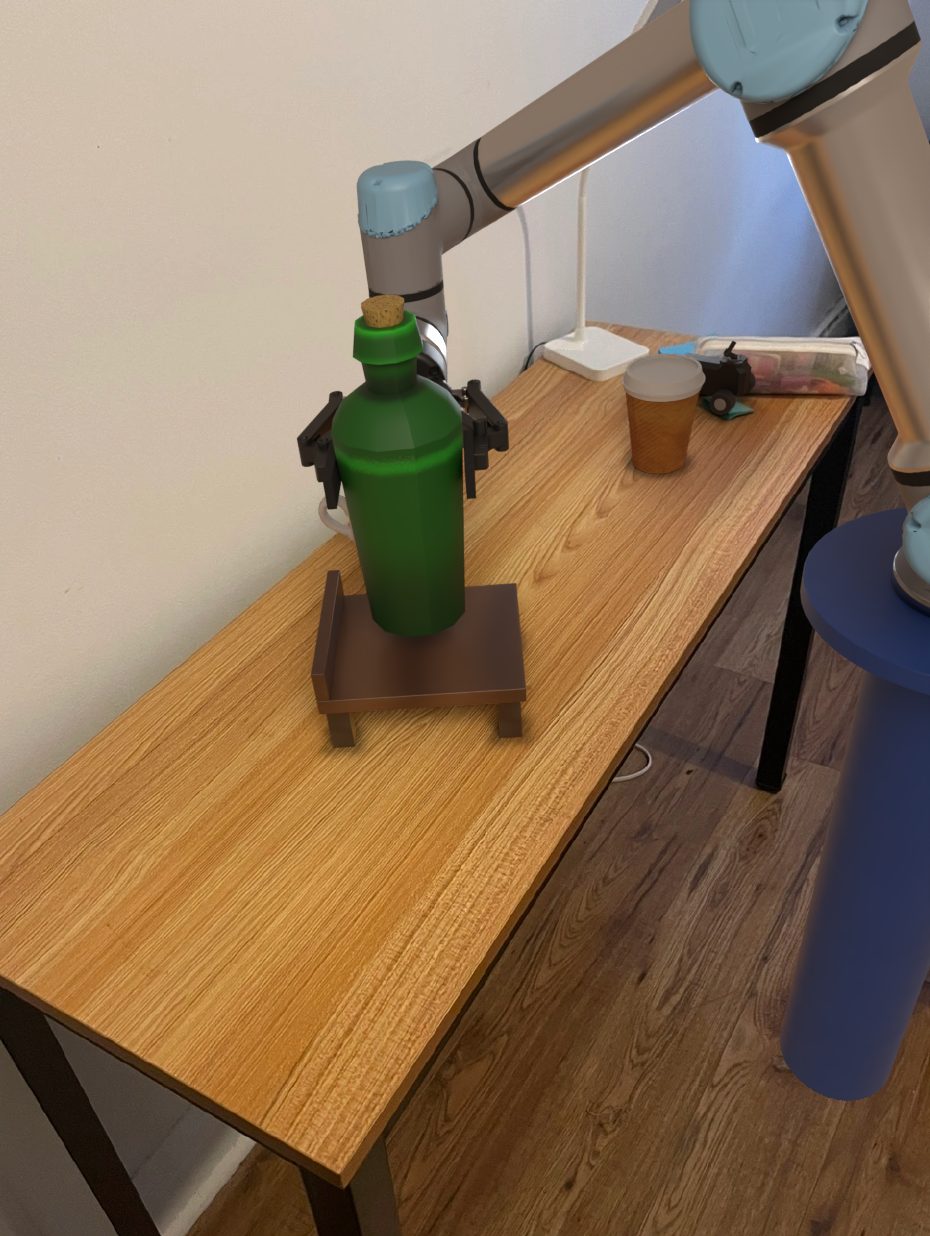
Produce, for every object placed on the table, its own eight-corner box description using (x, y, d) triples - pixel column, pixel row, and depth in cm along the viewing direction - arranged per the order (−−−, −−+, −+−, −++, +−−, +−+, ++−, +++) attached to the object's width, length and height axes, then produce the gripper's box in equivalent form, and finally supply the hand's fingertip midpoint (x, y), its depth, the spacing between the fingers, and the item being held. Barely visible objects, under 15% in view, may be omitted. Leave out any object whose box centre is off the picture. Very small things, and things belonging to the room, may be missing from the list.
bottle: (457, 569, 97) (431, 268, 79) (493, 631, 89) (474, 311, 71) (349, 595, 96) (298, 294, 78) (376, 661, 88) (326, 341, 70)
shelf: (518, 632, 102) (514, 556, 96) (528, 740, 90) (524, 660, 84) (341, 644, 104) (327, 570, 98) (327, 752, 92) (310, 674, 86)
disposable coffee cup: (690, 440, 129) (697, 348, 121) (705, 477, 122) (714, 381, 114) (614, 447, 130) (616, 356, 122) (625, 484, 123) (628, 389, 115)
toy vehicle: (731, 421, 132) (738, 355, 126) (626, 401, 140) (628, 338, 134) (756, 396, 137) (764, 331, 131) (653, 378, 144) (656, 316, 139)
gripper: (530, 401, 98) (547, 519, 81) (295, 421, 100) (265, 540, 83) (527, 323, 93) (545, 432, 76) (281, 346, 95) (246, 457, 78)
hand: (399, 488), depth 80 cm, fingers closed on bottle, 10 cm apart
